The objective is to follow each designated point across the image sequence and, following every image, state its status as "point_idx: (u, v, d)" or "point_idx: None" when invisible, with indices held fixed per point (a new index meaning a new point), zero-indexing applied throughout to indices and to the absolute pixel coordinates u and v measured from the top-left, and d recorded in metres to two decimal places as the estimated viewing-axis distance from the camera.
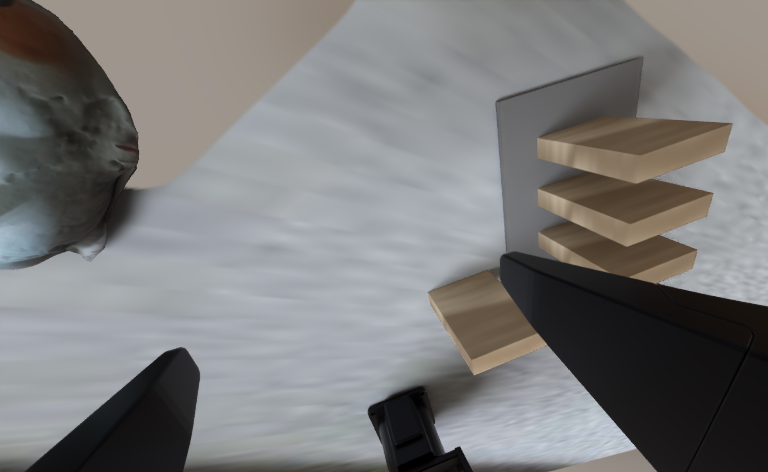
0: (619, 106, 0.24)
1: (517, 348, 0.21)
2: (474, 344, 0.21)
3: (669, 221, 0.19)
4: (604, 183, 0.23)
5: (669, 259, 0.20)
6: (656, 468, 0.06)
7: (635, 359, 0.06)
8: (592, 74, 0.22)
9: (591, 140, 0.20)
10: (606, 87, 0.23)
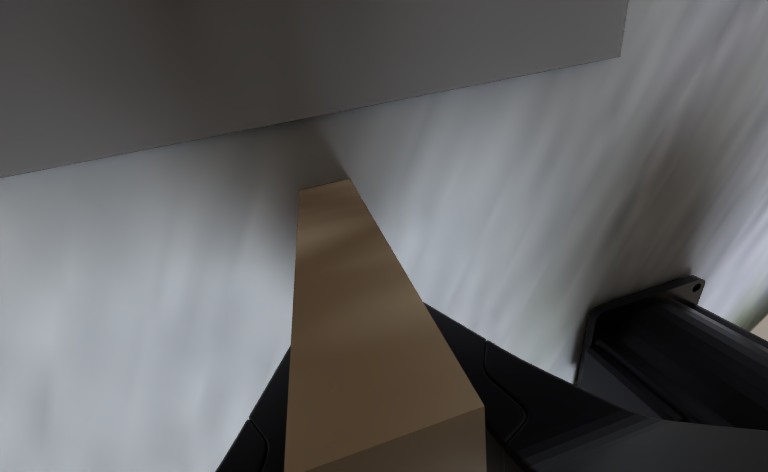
0: None
1: None
2: None
3: None
4: None
5: None
6: None
7: None
8: None
9: None
10: None
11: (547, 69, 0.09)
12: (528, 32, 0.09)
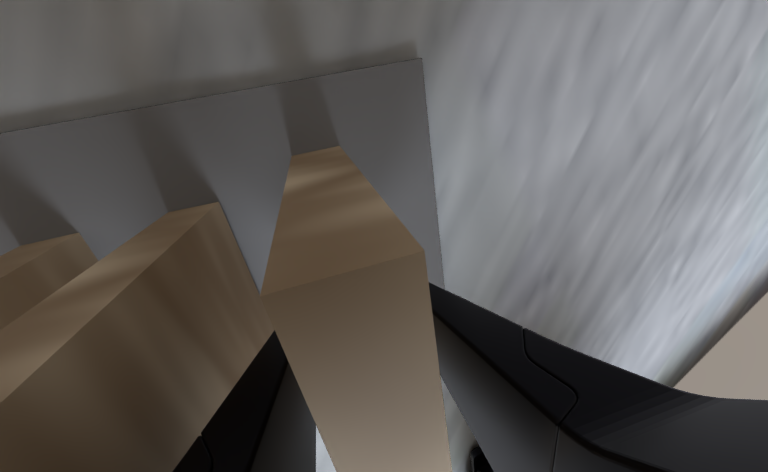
0: None
1: (379, 438, 0.04)
2: None
3: None
4: None
5: None
6: None
7: (494, 411, 0.05)
8: None
9: None
10: None
11: None
12: None
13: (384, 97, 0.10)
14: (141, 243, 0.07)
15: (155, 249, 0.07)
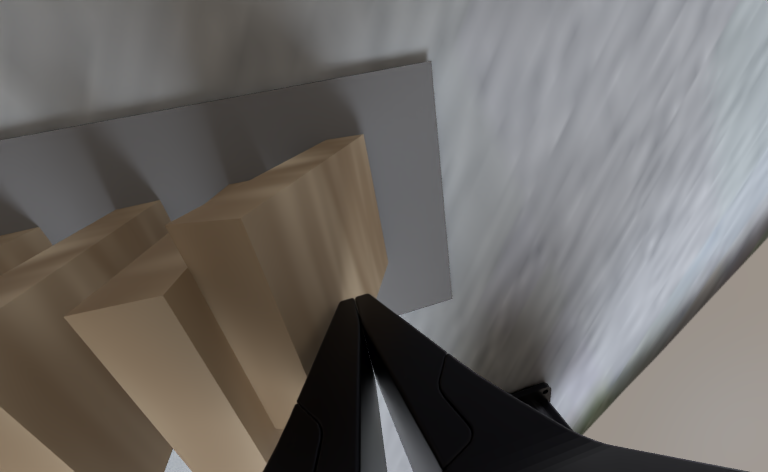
0: None
1: (249, 333, 0.06)
2: None
3: None
4: None
5: None
6: None
7: (413, 441, 0.05)
8: None
9: None
10: None
11: (409, 311, 0.17)
12: (394, 300, 0.16)
13: (401, 92, 0.12)
14: None
15: None
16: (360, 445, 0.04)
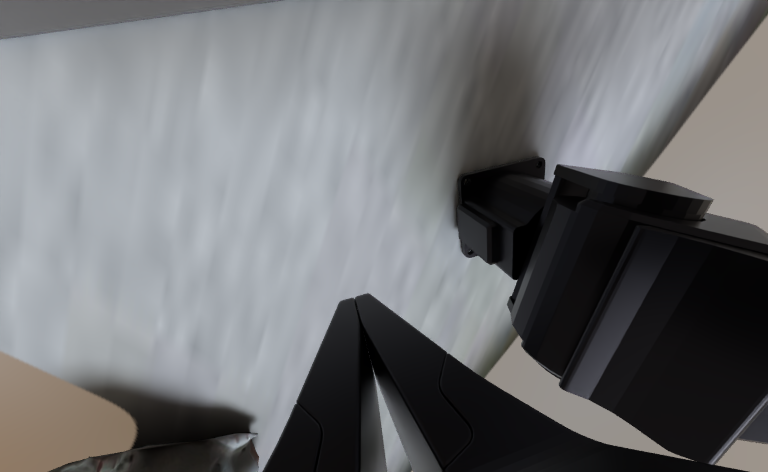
0: None
1: None
2: None
3: None
4: None
5: None
6: None
7: (412, 441, 0.05)
8: None
9: None
10: None
11: None
12: None
13: None
14: None
15: None
16: (360, 445, 0.04)
